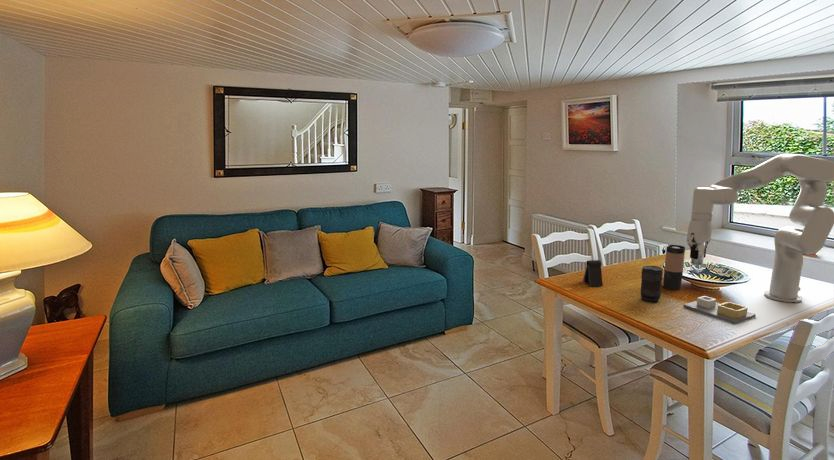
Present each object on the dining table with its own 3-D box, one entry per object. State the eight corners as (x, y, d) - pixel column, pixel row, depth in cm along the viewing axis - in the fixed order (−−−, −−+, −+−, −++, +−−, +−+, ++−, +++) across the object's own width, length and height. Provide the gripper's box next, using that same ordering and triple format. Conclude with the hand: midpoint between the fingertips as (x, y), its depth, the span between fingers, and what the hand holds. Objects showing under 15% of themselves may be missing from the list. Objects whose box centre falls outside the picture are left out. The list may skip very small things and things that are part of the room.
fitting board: (703, 301, 190) (704, 292, 189) (755, 317, 172) (756, 307, 171) (683, 307, 184) (684, 297, 183) (734, 324, 166) (736, 314, 165)
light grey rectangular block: (695, 261, 194) (697, 239, 192) (705, 263, 190) (707, 241, 188) (688, 263, 192) (690, 241, 190) (698, 265, 188) (701, 243, 186)
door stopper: (582, 281, 220) (584, 258, 217) (594, 280, 220) (595, 257, 217) (590, 287, 211) (592, 263, 208) (602, 286, 211) (604, 262, 209)
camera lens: (641, 295, 198) (644, 264, 195) (661, 299, 193) (664, 267, 190) (637, 301, 192) (640, 268, 189) (657, 305, 187) (661, 271, 184)
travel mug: (683, 290, 203) (688, 248, 199) (665, 289, 205) (669, 248, 201) (677, 285, 211) (681, 244, 207) (660, 284, 212) (664, 244, 208)
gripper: (704, 213, 194) (700, 253, 197) (680, 217, 187) (676, 258, 190) (722, 215, 187) (718, 256, 191) (698, 220, 180) (694, 262, 184)
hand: (697, 257), depth 190 cm, fingers closed on light grey rectangular block, 4 cm apart
